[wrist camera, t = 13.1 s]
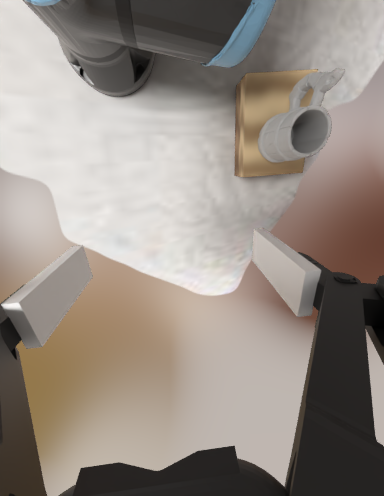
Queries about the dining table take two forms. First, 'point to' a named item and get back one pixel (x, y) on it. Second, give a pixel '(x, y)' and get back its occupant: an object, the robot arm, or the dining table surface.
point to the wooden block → (263, 119)
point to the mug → (300, 121)
